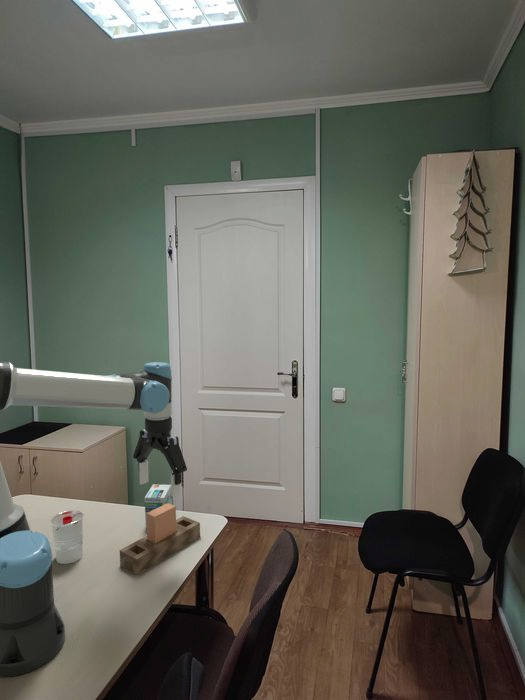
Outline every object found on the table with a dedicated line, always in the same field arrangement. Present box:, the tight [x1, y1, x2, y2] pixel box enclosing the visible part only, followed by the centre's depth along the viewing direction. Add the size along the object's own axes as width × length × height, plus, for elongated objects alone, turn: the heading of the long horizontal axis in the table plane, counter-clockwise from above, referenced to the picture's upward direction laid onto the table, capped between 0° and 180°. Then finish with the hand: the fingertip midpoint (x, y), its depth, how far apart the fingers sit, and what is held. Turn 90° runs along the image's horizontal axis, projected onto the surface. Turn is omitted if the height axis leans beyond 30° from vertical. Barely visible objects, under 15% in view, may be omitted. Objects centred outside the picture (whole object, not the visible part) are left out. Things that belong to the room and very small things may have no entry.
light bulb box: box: [144, 483, 173, 530], centre depth 148 cm, size 11×7×11 cm, turn 179°
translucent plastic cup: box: [50, 510, 84, 565], centre depth 128 cm, size 10×8×12 cm
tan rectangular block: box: [146, 503, 177, 544], centre depth 131 cm, size 8×4×12 cm, turn 144°
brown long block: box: [119, 516, 201, 576], centre depth 131 cm, size 24×7×4 cm, turn 144°
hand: (159, 488), depth 129 cm, fingers open, 13 cm apart
